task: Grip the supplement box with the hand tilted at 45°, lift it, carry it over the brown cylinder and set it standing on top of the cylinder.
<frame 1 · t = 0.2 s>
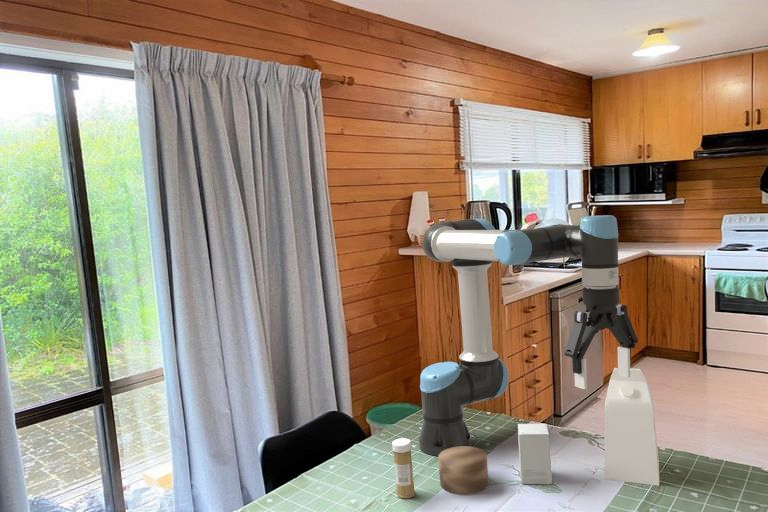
hand: (603, 381, 127), 28 cm above the table, tool pointing down, fingers open, 13 cm apart
supplement box: (536, 478, 144), on the table
milk: (632, 472, 143), on the table
sprinkles bottle: (405, 495, 141), on the table
brown cylinder: (464, 483, 144), on the table
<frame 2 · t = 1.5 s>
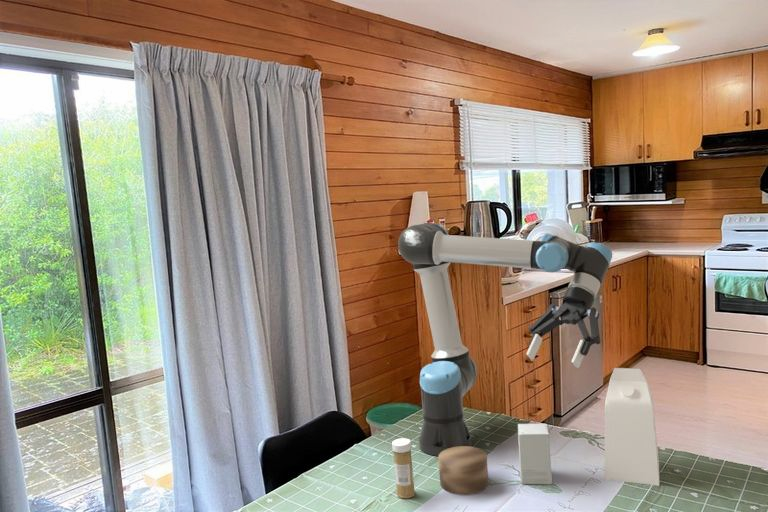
hand: (551, 361, 147), 28 cm above the table, tool tilted 45°, fingers open, 13 cm apart
nothing on the table moved.
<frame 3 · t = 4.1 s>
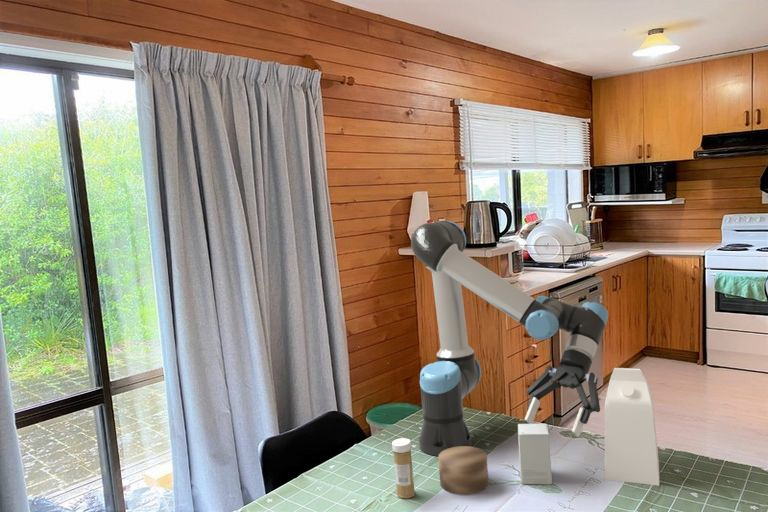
hand: (550, 427, 145), 11 cm above the table, tool tilted 45°, fingers open, 13 cm apart
nothing on the table moved.
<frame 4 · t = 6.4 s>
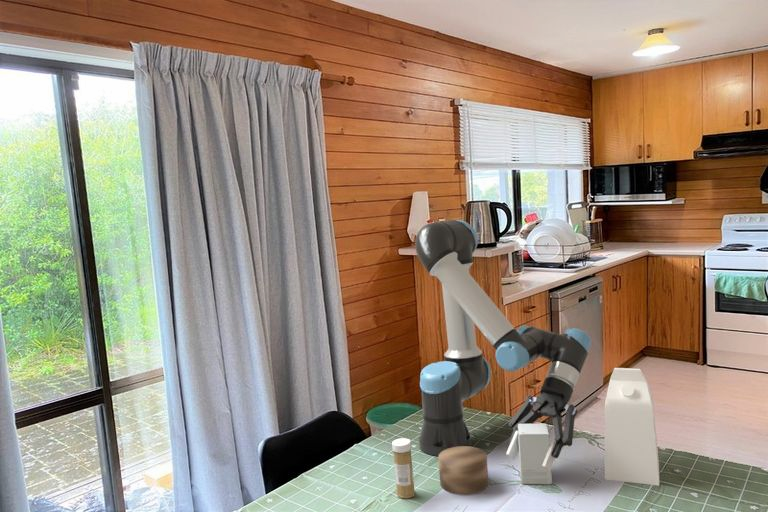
hand: (527, 462, 141), 5 cm above the table, tool tilted 45°, fingers closed on supplement box, 10 cm apart
supplement box: (536, 478, 144), on the table, touching gripper
everything else where it was.
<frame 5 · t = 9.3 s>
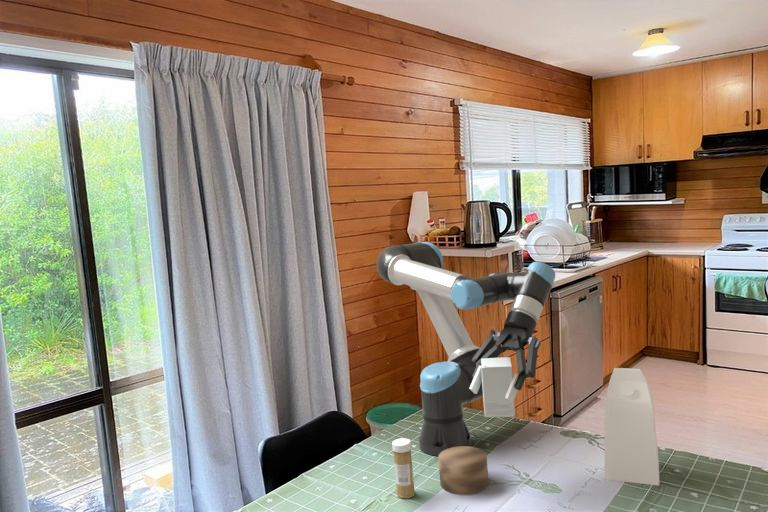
hand: (490, 395, 139), 23 cm above the table, tool tilted 40°, fingers closed on supplement box, 10 cm apart
supplement box: (499, 411, 142), point 18 cm above the table, touching gripper
everything else where it was.
when the fingers open (13 cm above the table, at t = 12.2 s): supplement box drops 2 cm, resting on brown cylinder.
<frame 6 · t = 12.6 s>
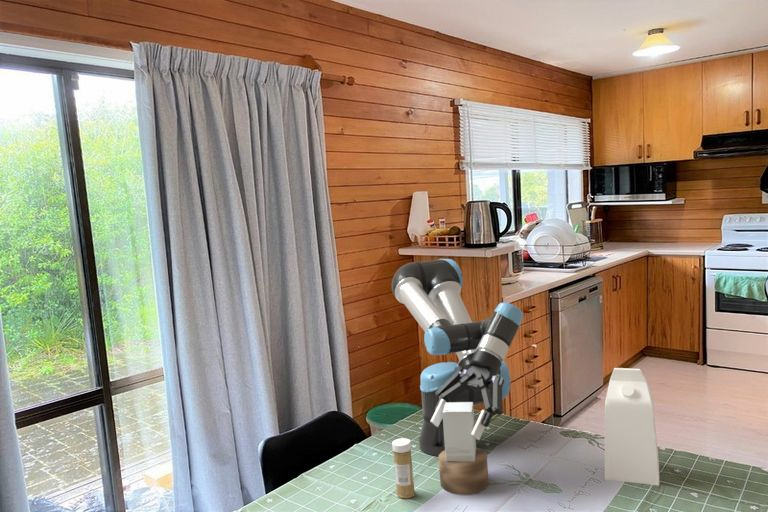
hand: (453, 430, 142), 14 cm above the table, tool tilted 45°, fingers open, 13 cm apart
supplement box: (461, 456, 144), point 7 cm above the table, touching brown cylinder
brown cylinder: (464, 483, 144), on the table, touching supplement box
everything else where it was.
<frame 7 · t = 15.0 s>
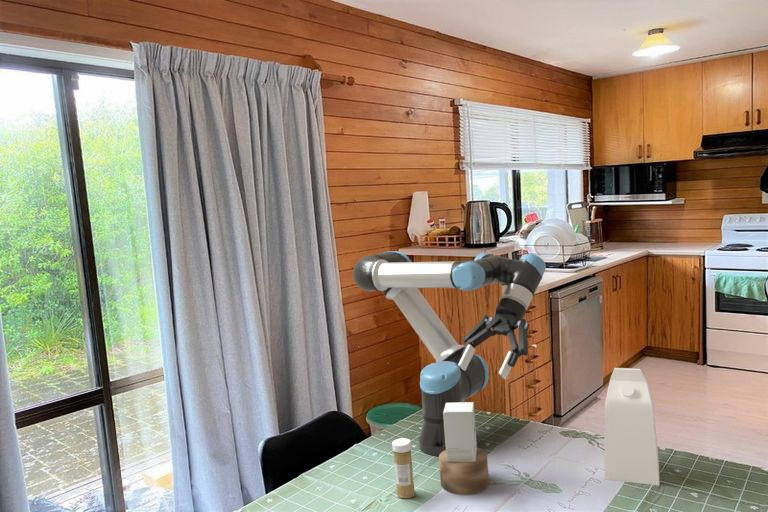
hand: (481, 372, 148), 26 cm above the table, tool tilted 45°, fingers open, 13 cm apart
nothing on the table moved.
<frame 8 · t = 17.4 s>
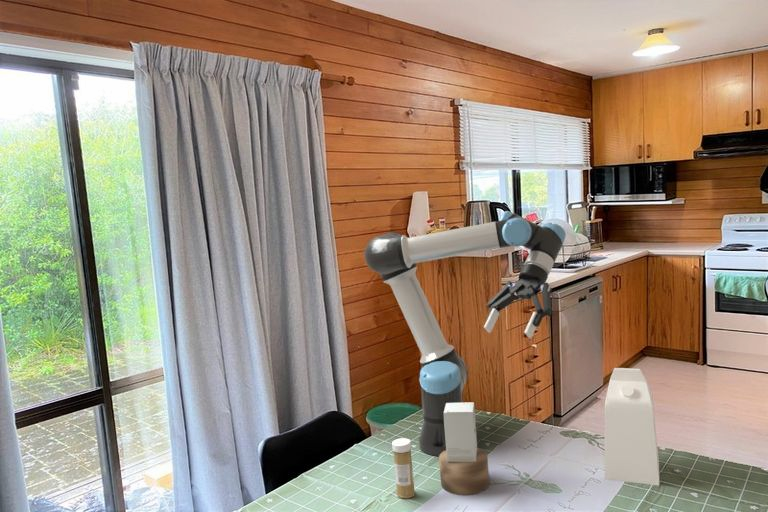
hand: (506, 332, 156), 34 cm above the table, tool tilted 45°, fingers open, 13 cm apart
nothing on the table moved.
at the end: supplement box inside the target area on the brown cylinder (0.2 cm from its centre), point 6.8 cm above the brown cylinder's base; supplement box tilted 0°; the gripper is holding nothing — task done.
